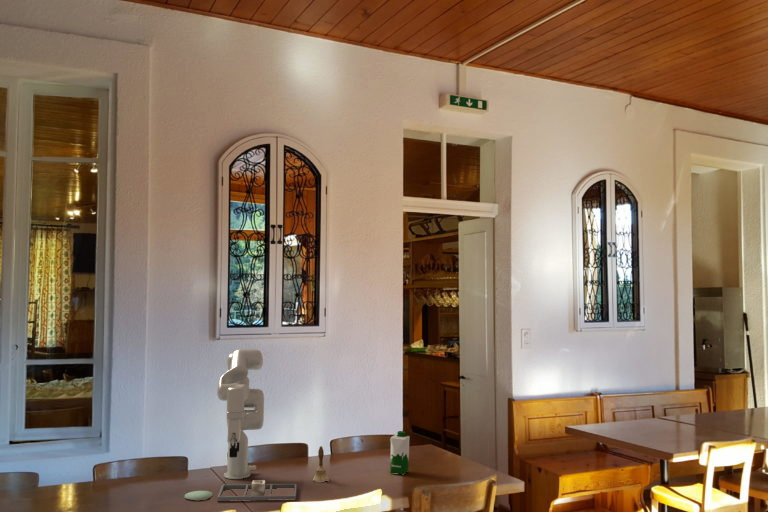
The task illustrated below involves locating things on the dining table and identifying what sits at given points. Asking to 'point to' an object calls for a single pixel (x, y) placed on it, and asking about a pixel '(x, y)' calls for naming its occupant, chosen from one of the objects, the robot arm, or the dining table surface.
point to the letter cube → (258, 488)
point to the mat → (198, 495)
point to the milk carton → (399, 453)
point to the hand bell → (320, 468)
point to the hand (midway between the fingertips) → (234, 454)
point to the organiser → (244, 497)
